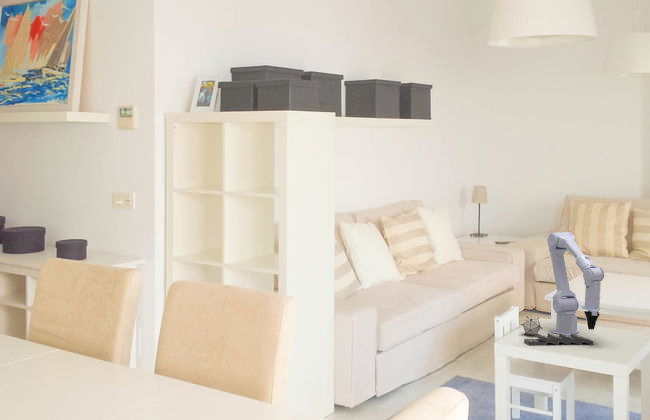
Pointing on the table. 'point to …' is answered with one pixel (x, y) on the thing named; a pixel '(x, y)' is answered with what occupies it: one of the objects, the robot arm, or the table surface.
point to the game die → (531, 326)
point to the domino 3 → (558, 339)
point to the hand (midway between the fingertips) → (591, 329)
